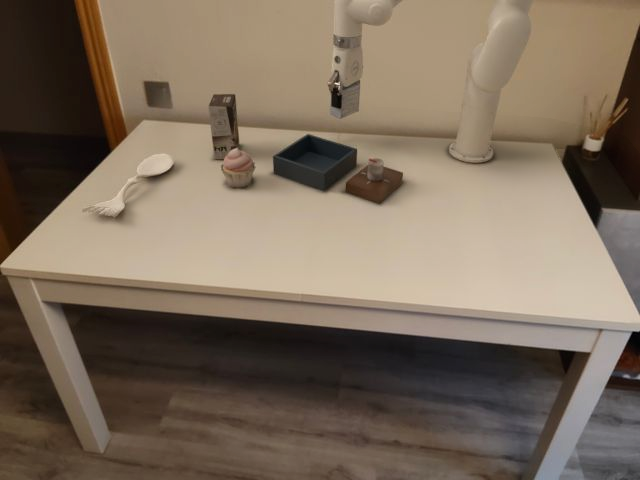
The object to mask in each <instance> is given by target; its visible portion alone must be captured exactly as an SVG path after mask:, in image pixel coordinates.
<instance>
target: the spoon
mask: <svg viewBox="0 0 640 480" xmlns="http://www.w3.org/2000/svg"><path fill="white" fill-rule="evenodd" d="M173 165H174V157H173V156H171V155H170V154H167V153H155V154H152V155H150V156H148V157H146V158H145V159H143V160H142V161H141V162H140V163H139V164H138V165H137V168H136V173H137V174H136V175H135V176H133V177H130V178H128V179H127V180H126V183H125V184H124V185H123V186H122V188H121V189H120V190H119V192H118V193H117V195H115V196H114V197H113V198H111V199H109V200H104V201H102V202H99V203H96V204H92V205H89V206H85V207H83V208H82V212H83V213H85V212H88V213H90V214H91V213H92V214H93V215H96V214H98V215H100V216H103V215H104V216H105V217H107V216H108V217H112V218H116V217H117V216H119V214H121V212H122V211H123V210H124V209H125V207H126V205H125V201H124V199H125V195H126V193H127V191H128V190H129V188H130V187H132V186H134V185H135V184H138V183H139V179H142V178H147V177H155V176H160V175H161V174H164V173H166V172H168V170H170V169H171V168H172V166H173Z"/></svg>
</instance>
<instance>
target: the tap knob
mask: <svg viewBox="0 0 640 480" xmlns="http://www.w3.org/2000/svg"><path fill="white" fill-rule="evenodd" d="M367 165H368V173H367V178H368V179H369V180H372V181H379V180H381V179H382V178H383V167H385V161H384V160H383V159H381V158H378V157H377V158H376V157H373V158H369V159H368V161H367Z"/></svg>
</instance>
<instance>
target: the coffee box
mask: <svg viewBox="0 0 640 480" xmlns="http://www.w3.org/2000/svg"><path fill="white" fill-rule="evenodd" d="M208 113H209V114H208V115H209V122H210V133H211V140H212V141H211V142H212V149H213V159H214V160H224V158H225V157H226V156H227V155H228V154H229V152H230V151H231V150H233V149H236V148H238V149H239V150H240V144H241V143H240V134H239V132H240V131H239V122H238V110H237V101H236V94H235V93H220V94H218V93H215V94H212V97H211V99H210V102H209V104H208Z"/></svg>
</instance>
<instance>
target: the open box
mask: <svg viewBox="0 0 640 480" xmlns="http://www.w3.org/2000/svg"><path fill="white" fill-rule="evenodd" d="M357 161H358V148H357V147H356V148H355V147H352V146H350V145H346V144H343V143H339V142H336V141H332V140H330V139H326V138H323V137H320V136H316V135H313V134H310V133H307V134H305V135H304V136H302V137H301V138H299V139H297V140H295V141H294V142H293V143H291V144H290V145H288V146H286V147H285V148H283V149H282V150H280V151H279V152H277V153H276V154H274V155H273V156H272V169H273V174H274V175H277V176H279V177H282V178H284V179H287V180H290V181H293V182H296V183H299V184H302V185H304V186H307V187H310V188H313V189H316V190H319V191H320V192H326V191H327V190H329V188H331V187H332V186H334V185H335V184H336V183H337V182H338V181H339V180H341V179H342V178H343V177H345V176H346V175H347V174H349V173H350V172H351V171H352V170H354V169H355V168H356V167H357V164H358V163H357Z"/></svg>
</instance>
